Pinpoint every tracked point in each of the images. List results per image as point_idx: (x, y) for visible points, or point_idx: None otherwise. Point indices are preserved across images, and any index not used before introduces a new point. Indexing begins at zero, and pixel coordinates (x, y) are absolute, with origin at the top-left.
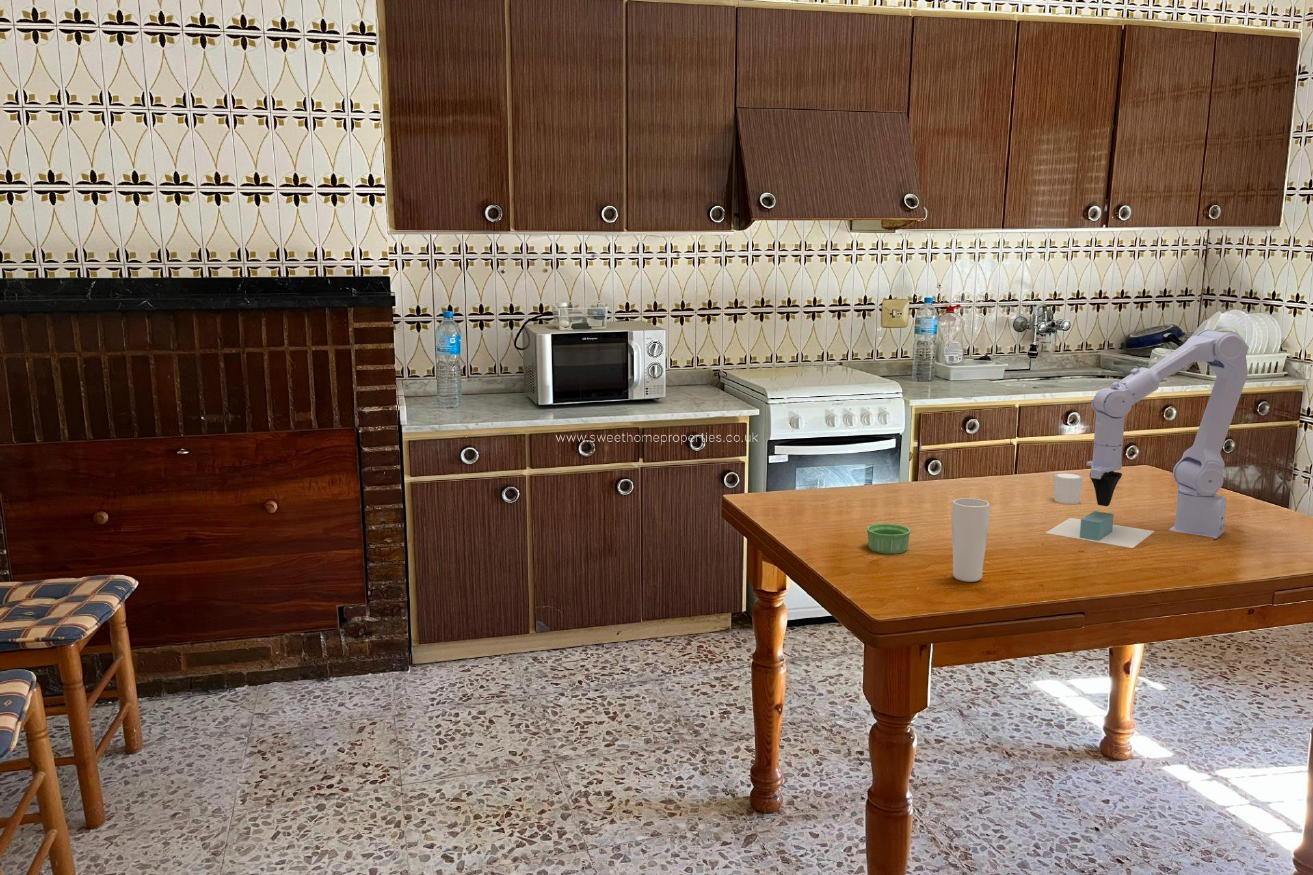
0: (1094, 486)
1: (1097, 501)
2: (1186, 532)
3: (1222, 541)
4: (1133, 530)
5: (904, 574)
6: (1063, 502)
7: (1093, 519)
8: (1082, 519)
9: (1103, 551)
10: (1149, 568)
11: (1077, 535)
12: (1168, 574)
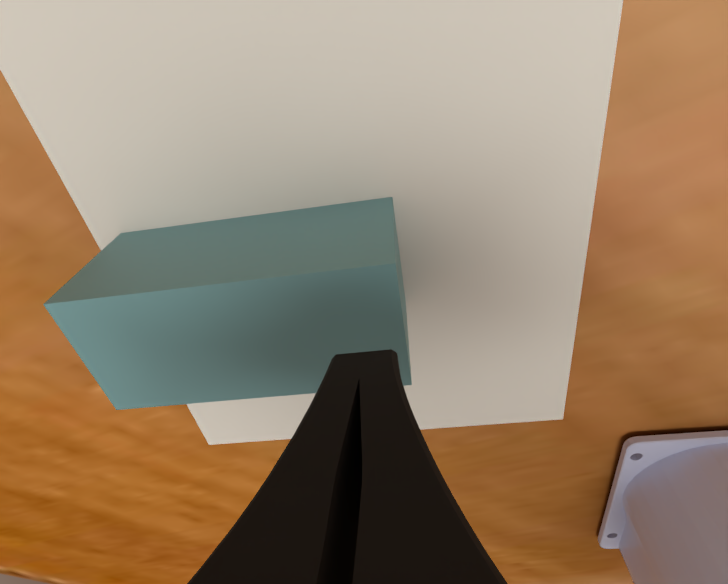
0: (217, 548)
1: (323, 379)
2: (621, 489)
3: (591, 548)
4: (512, 359)
5: None
6: None
7: (140, 357)
8: (54, 312)
9: (89, 374)
10: (86, 511)
11: (144, 203)
12: (93, 545)
